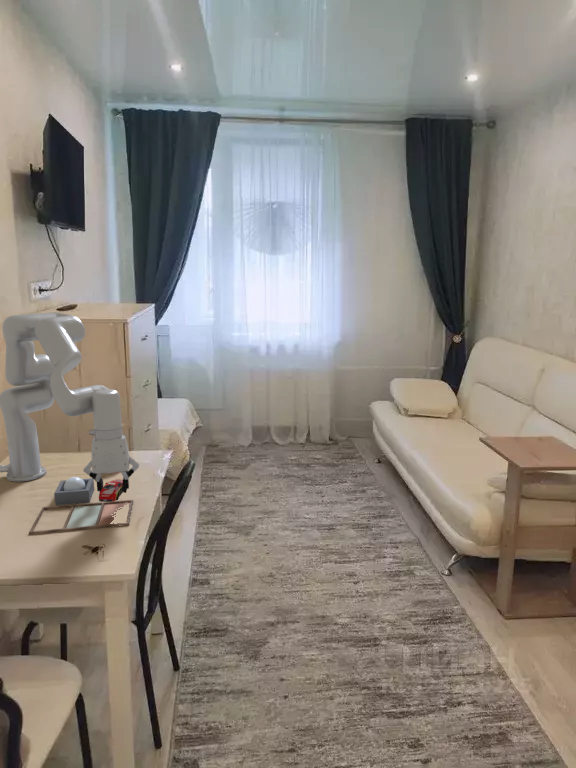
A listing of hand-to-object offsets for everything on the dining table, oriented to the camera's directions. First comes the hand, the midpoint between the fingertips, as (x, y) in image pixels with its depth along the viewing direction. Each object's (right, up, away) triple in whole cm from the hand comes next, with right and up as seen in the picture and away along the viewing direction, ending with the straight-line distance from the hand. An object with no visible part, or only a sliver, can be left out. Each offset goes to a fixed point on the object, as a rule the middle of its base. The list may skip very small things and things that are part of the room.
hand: (113, 491), depth 159 cm
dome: (-16, -4, +13) cm, 22 cm away
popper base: (-16, -4, +13) cm, 22 cm away
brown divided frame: (-8, -7, 0) cm, 11 cm away
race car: (0, -1, 0) cm, 1 cm away
